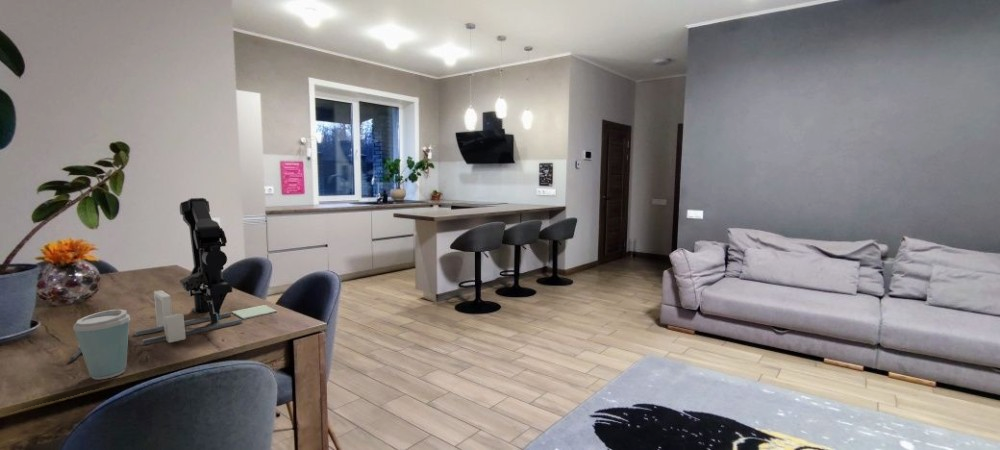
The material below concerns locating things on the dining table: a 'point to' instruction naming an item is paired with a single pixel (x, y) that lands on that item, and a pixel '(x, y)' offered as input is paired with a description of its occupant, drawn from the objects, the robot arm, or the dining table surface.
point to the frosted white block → (168, 317)
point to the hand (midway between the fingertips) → (214, 310)
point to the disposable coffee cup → (104, 342)
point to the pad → (254, 312)
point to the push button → (212, 310)
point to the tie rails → (190, 331)
